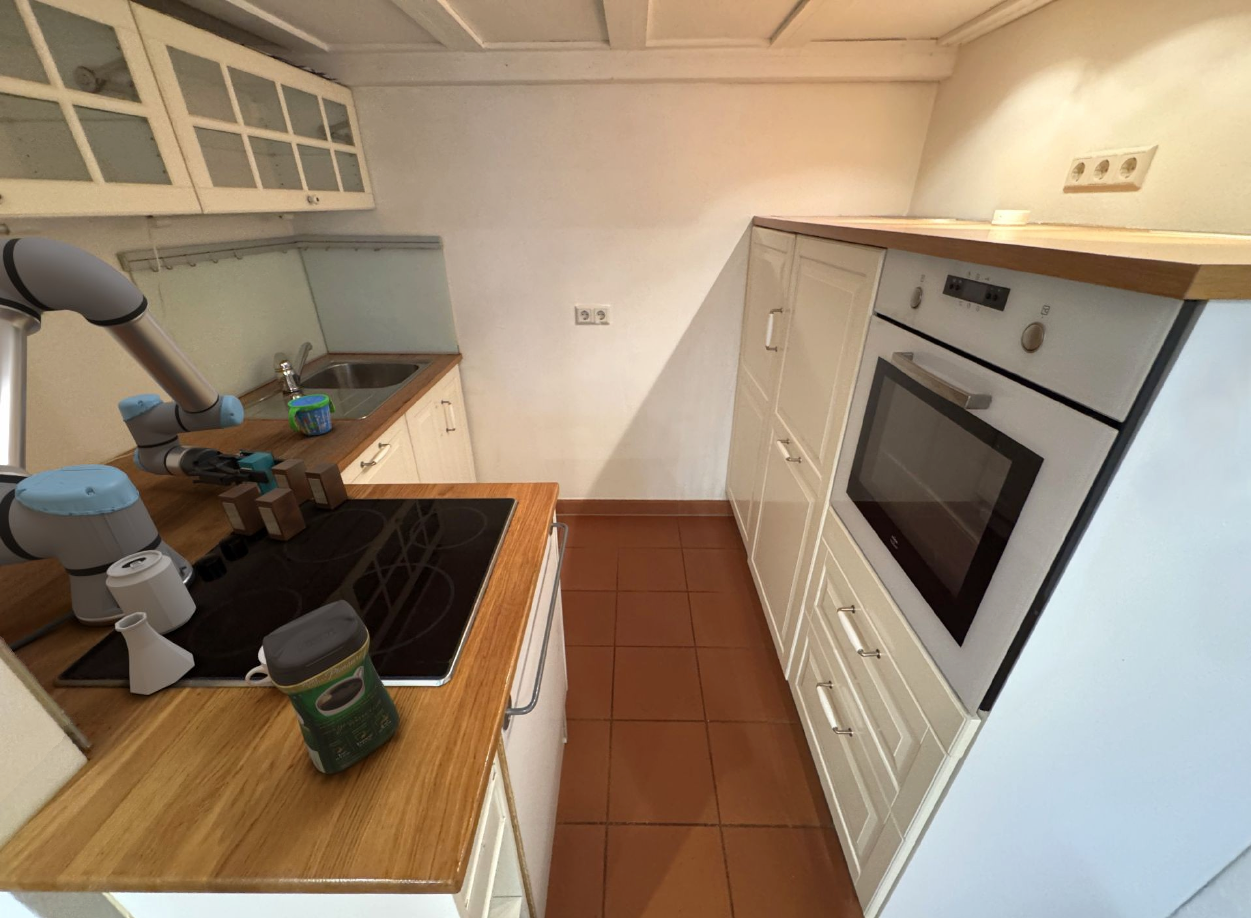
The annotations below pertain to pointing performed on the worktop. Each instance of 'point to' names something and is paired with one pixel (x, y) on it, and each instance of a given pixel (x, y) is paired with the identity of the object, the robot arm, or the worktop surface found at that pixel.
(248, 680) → the teacup
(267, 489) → the teal rectangular block
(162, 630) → the can
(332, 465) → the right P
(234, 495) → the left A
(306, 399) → the snack cup
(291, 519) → the brown wooden block
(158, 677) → the flask
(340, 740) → the coffee jar
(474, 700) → the worktop surface
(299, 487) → the brown rectangular box
